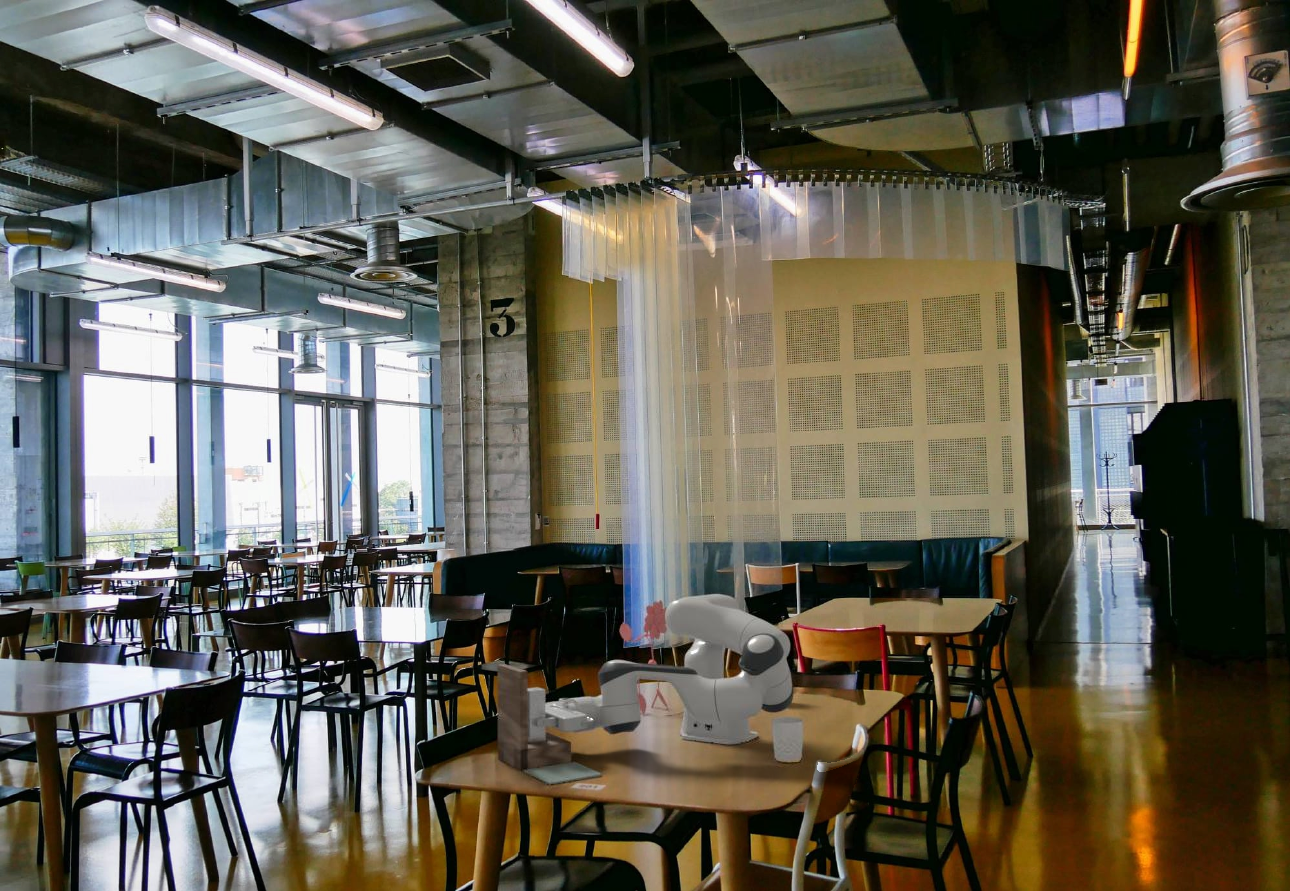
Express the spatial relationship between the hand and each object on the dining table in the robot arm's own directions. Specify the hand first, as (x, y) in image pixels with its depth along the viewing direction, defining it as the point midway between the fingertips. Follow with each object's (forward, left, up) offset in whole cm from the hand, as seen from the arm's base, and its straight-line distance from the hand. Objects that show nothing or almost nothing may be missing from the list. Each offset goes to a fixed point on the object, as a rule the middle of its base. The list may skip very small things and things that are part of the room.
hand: (530, 721), depth 252 cm
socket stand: (0, -1, -10) cm, 10 cm away
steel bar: (0, -1, -10) cm, 10 cm away
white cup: (-50, -42, -10) cm, 66 cm away
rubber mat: (-16, +4, -10) cm, 19 cm away
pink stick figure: (+16, -67, -10) cm, 69 cm away
